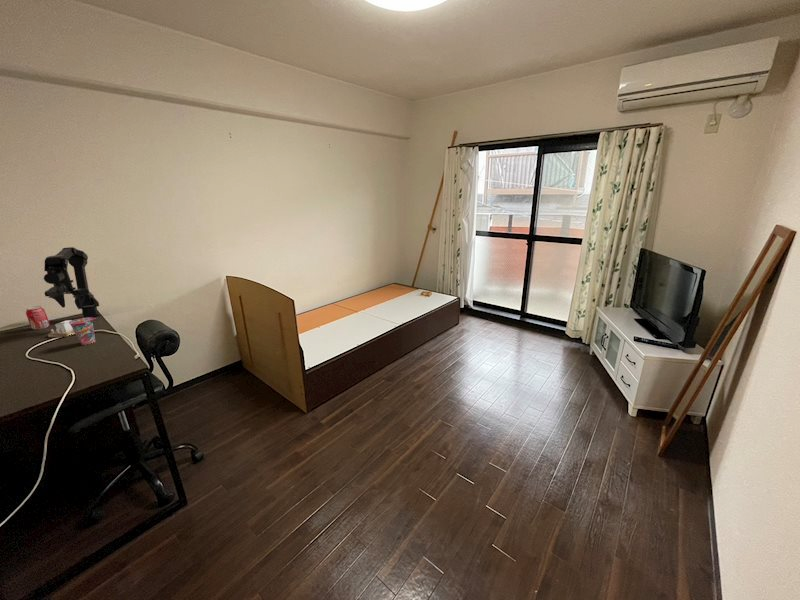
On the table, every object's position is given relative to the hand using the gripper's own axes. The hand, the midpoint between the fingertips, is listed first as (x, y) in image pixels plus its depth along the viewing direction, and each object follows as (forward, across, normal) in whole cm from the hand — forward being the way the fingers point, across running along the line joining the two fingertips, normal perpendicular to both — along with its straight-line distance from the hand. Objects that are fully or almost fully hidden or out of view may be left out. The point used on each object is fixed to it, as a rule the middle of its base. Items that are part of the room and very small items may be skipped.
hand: (72, 307), depth 176 cm
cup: (+11, +26, -23) cm, 37 cm away
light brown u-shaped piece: (+12, +2, -9) cm, 15 cm away
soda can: (+12, -21, 0) cm, 24 cm away
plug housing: (+12, +2, -8) cm, 15 cm away
